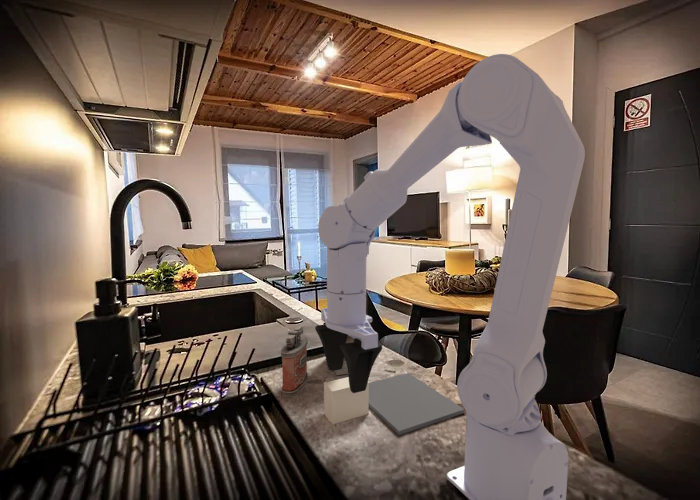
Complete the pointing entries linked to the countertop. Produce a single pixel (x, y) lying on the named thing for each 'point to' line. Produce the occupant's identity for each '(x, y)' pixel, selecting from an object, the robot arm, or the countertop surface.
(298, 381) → the lighter
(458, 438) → the countertop surface
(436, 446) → the countertop surface
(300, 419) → the countertop surface
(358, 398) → the beige rectangular block
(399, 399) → the mat
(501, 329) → the robot arm
